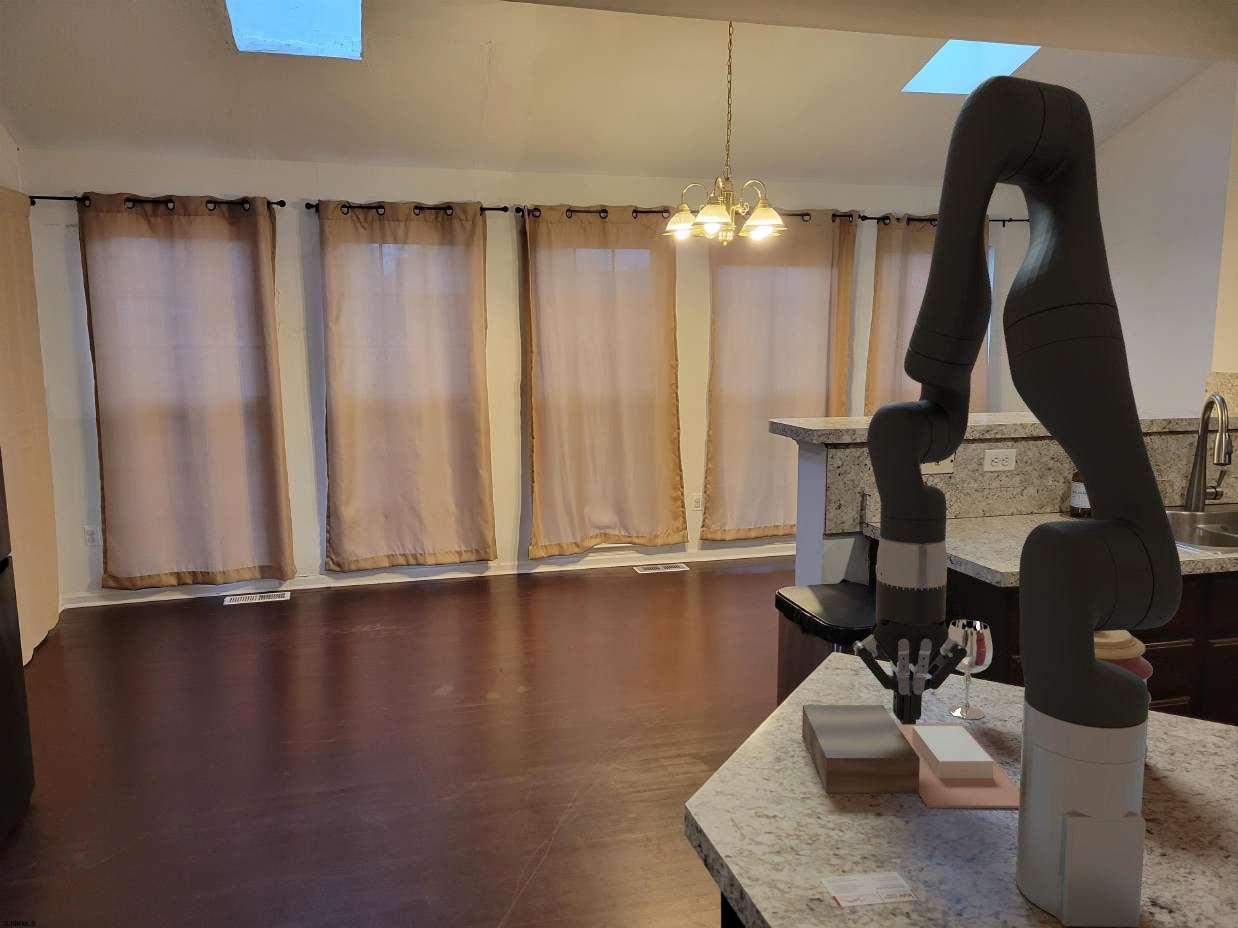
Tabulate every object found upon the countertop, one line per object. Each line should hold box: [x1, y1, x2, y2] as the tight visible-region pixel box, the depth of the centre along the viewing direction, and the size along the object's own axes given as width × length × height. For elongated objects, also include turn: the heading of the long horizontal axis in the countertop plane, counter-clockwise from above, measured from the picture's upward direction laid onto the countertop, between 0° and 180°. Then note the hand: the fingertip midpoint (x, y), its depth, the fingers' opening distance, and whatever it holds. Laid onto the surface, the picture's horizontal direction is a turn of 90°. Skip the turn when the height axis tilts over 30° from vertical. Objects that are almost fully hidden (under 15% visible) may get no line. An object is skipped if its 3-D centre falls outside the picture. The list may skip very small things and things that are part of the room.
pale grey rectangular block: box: [912, 726, 994, 778], centre depth 97 cm, size 9×6×2 cm, turn 179°
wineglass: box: [947, 619, 993, 720], centre depth 110 cm, size 6×6×12 cm
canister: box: [1021, 630, 1154, 764], centre depth 97 cm, size 13×13×18 cm
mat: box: [895, 722, 1020, 809], centre depth 97 cm, size 20×11×1 cm, turn 178°
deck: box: [801, 704, 920, 794], centre depth 97 cm, size 14×10×4 cm
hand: (906, 721), depth 96 cm, fingers closed
